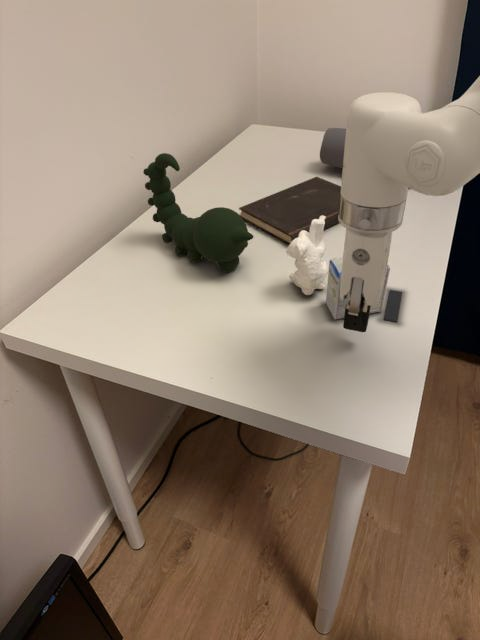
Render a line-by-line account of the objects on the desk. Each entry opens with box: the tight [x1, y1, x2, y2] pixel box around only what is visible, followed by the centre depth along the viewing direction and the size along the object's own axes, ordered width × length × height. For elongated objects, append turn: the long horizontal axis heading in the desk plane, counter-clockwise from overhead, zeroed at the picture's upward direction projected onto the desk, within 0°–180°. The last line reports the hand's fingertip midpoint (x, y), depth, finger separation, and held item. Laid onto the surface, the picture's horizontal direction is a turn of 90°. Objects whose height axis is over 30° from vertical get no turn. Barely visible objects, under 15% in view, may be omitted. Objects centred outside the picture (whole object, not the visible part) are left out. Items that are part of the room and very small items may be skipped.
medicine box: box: [325, 257, 391, 320], centre depth 74 cm, size 8×4×9 cm, turn 102°
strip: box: [383, 289, 403, 323], centre depth 77 cm, size 2×8×1 cm, turn 160°
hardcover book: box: [238, 176, 341, 246], centre depth 102 cm, size 16×23×2 cm
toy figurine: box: [142, 152, 254, 273], centre depth 85 cm, size 9×19×25 cm
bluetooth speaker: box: [319, 127, 346, 170], centre depth 113 cm, size 23×9×10 cm, turn 58°
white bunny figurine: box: [285, 215, 329, 296], centre depth 78 cm, size 8×7×12 cm
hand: (355, 326), depth 69 cm, fingers closed
